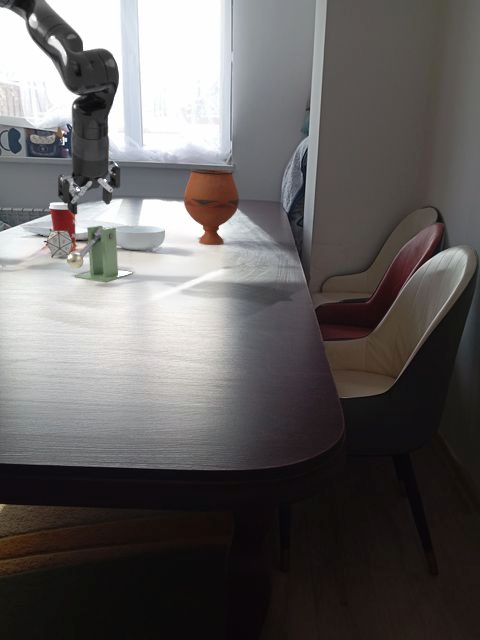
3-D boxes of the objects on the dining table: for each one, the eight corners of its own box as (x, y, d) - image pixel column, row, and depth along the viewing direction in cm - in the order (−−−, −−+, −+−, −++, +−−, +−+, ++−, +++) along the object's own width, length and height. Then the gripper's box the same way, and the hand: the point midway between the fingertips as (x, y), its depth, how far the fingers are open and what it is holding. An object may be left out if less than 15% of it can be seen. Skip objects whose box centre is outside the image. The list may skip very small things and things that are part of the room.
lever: (79, 272, 117) (73, 259, 115) (66, 270, 118) (61, 257, 116) (113, 238, 126) (109, 226, 124) (101, 237, 127) (96, 224, 125)
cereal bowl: (175, 250, 169) (175, 228, 166) (142, 258, 155) (141, 234, 152) (135, 244, 176) (134, 222, 173) (100, 250, 162) (98, 227, 159)
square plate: (131, 234, 193) (131, 224, 192) (79, 244, 170) (78, 232, 169) (75, 226, 203) (75, 216, 202) (19, 235, 180) (18, 223, 178)
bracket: (105, 286, 122) (102, 231, 118) (75, 281, 125) (70, 227, 121) (132, 277, 132) (130, 226, 127) (104, 272, 135) (101, 223, 130)
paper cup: (83, 250, 160) (80, 204, 155) (59, 252, 155) (55, 205, 150) (72, 246, 165) (68, 201, 160) (48, 248, 160) (44, 202, 155)
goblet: (175, 244, 180) (174, 168, 171) (196, 236, 197) (196, 168, 188) (227, 249, 175) (229, 172, 166) (243, 241, 193) (246, 171, 184)
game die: (66, 268, 153) (83, 239, 155) (65, 263, 145) (82, 233, 147) (38, 252, 151) (55, 223, 152) (34, 247, 143) (52, 216, 144)
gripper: (110, 130, 113) (107, 189, 126) (49, 144, 105) (53, 205, 118) (129, 151, 111) (125, 209, 124) (68, 167, 103) (70, 226, 116)
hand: (90, 207), depth 121 cm, fingers open, 8 cm apart
